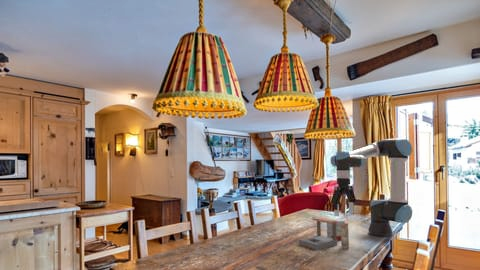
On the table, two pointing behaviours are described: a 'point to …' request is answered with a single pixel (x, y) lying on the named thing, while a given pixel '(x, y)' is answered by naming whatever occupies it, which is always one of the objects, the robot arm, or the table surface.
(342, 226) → the peg
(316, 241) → the socket porch
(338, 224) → the ink box
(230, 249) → the table surface
